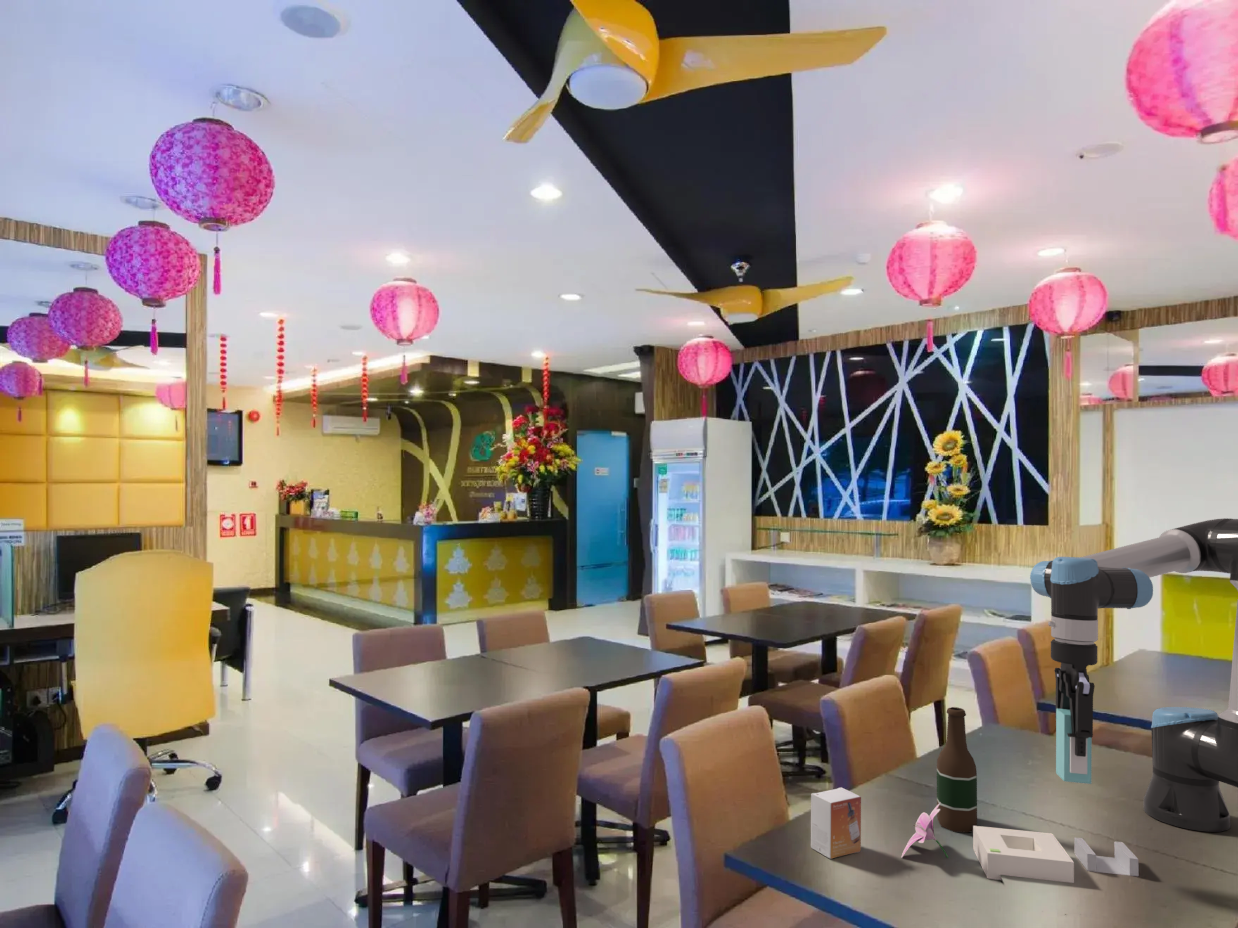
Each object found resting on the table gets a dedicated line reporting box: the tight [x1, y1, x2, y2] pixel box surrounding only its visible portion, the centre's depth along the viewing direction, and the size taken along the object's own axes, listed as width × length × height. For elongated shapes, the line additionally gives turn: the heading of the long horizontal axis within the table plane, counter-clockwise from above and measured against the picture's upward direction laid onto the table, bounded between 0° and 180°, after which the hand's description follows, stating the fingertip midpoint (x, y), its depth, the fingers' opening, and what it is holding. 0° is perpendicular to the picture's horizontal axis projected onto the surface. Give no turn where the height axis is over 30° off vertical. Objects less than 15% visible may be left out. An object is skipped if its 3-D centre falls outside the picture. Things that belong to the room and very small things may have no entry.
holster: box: [1073, 836, 1140, 877], centre depth 144 cm, size 8×7×4 cm
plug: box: [1055, 707, 1093, 785], centre depth 145 cm, size 4×4×12 cm
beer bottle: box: [936, 706, 978, 834], centre depth 163 cm, size 8×8×24 cm
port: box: [972, 825, 1075, 884], centre depth 144 cm, size 14×12×5 cm
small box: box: [810, 786, 862, 859], centre depth 151 cm, size 8×6×10 cm
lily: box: [901, 802, 949, 859], centre depth 150 cm, size 12×12×10 cm
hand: (1073, 767), depth 145 cm, fingers closed on plug, 4 cm apart
